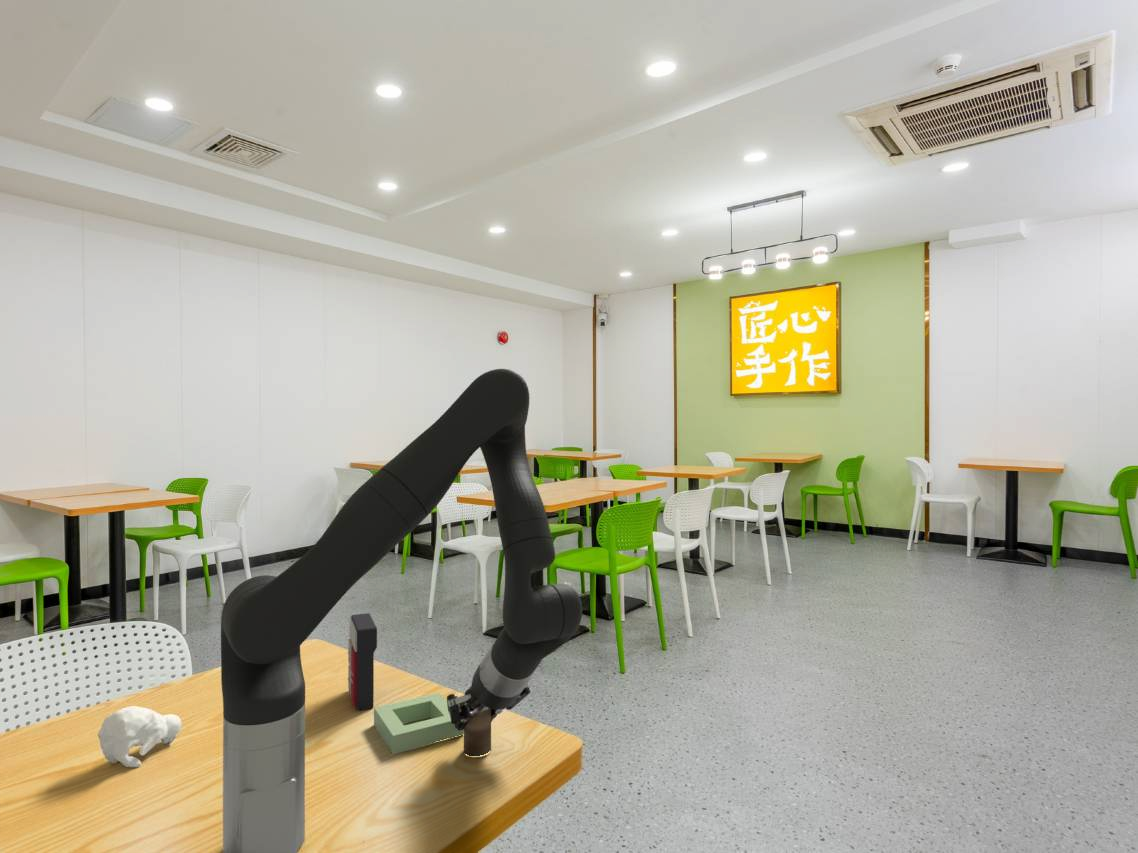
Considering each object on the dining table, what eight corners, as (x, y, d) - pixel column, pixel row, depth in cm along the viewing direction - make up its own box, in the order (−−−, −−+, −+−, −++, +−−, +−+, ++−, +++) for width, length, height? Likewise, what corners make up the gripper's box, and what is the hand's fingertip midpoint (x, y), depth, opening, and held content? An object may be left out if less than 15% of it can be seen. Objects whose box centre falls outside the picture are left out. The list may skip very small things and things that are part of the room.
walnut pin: (495, 753, 101) (495, 697, 101) (469, 760, 99) (470, 703, 99) (484, 741, 105) (484, 687, 105) (459, 748, 103) (459, 693, 103)
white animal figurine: (95, 711, 97) (168, 688, 108) (89, 769, 96) (163, 740, 107) (123, 717, 95) (195, 694, 106) (117, 777, 94) (190, 746, 105)
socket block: (463, 735, 107) (463, 717, 107) (393, 754, 101) (393, 735, 101) (439, 708, 117) (439, 692, 117) (374, 724, 111) (374, 707, 111)
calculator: (346, 689, 126) (347, 615, 126) (369, 686, 128) (369, 612, 128) (352, 712, 116) (353, 630, 116) (376, 707, 118) (377, 627, 118)
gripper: (538, 640, 99) (504, 689, 110) (452, 657, 92) (425, 708, 102) (555, 685, 95) (518, 732, 105) (466, 707, 87) (436, 756, 98)
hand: (472, 720), depth 103 cm, fingers closed on walnut pin, 4 cm apart
